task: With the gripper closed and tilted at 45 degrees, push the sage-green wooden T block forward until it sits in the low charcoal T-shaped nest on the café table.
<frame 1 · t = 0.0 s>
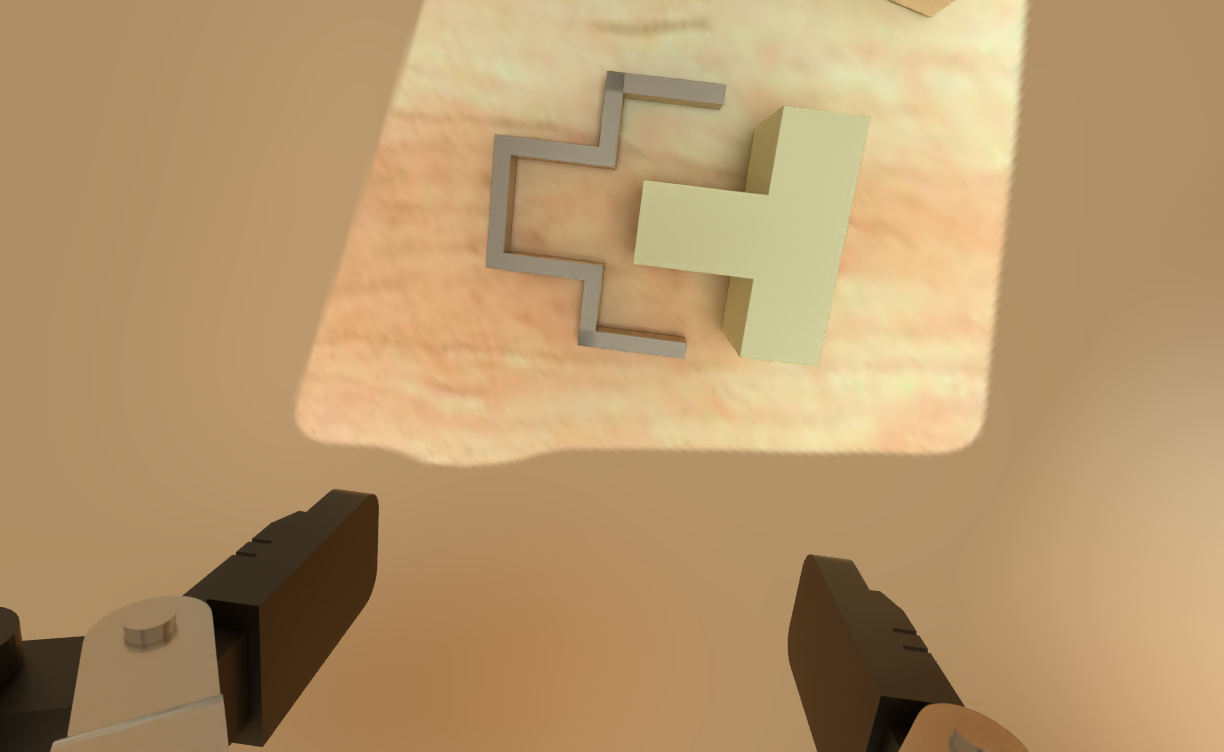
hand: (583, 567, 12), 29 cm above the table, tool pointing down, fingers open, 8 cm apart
t block: (721, 231, 38), on the table
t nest: (607, 216, 39), on the table
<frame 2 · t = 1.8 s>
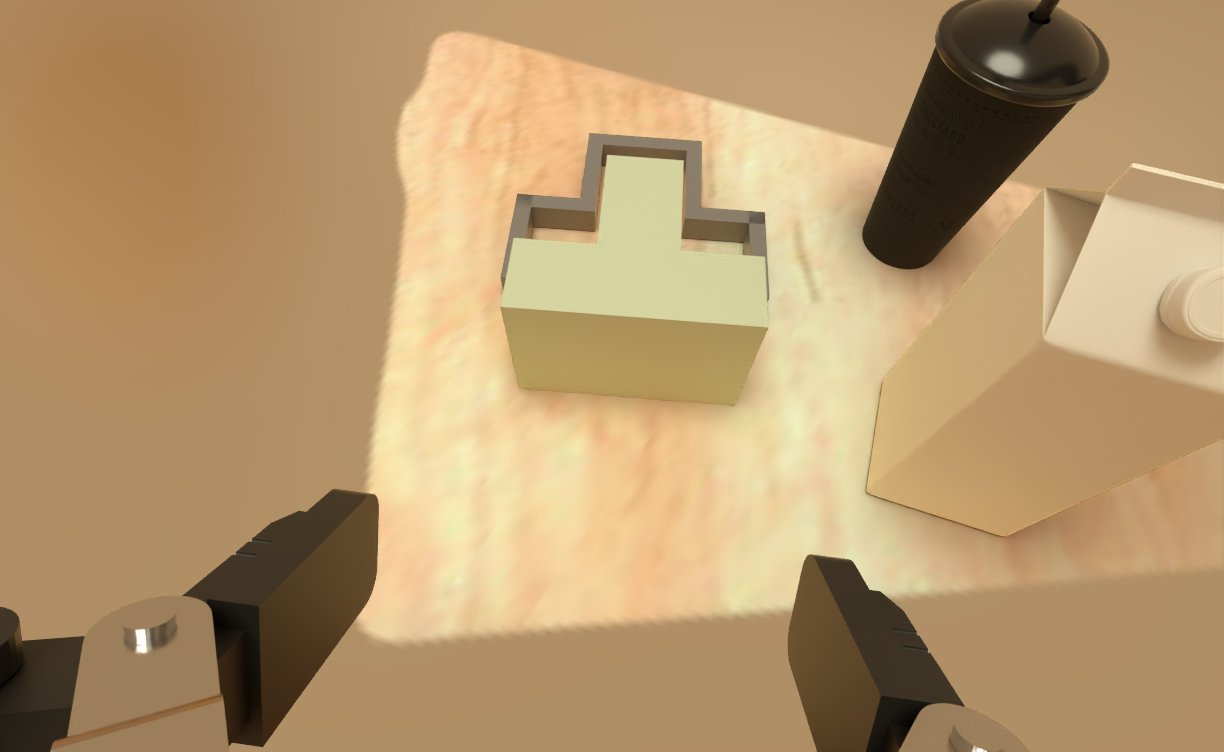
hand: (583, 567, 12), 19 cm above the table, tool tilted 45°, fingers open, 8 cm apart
milk carton: (937, 456, 34), on the table
t block: (631, 322, 38), on the table
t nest: (638, 232, 41), on the table
drinking cup: (897, 242, 41), on the table
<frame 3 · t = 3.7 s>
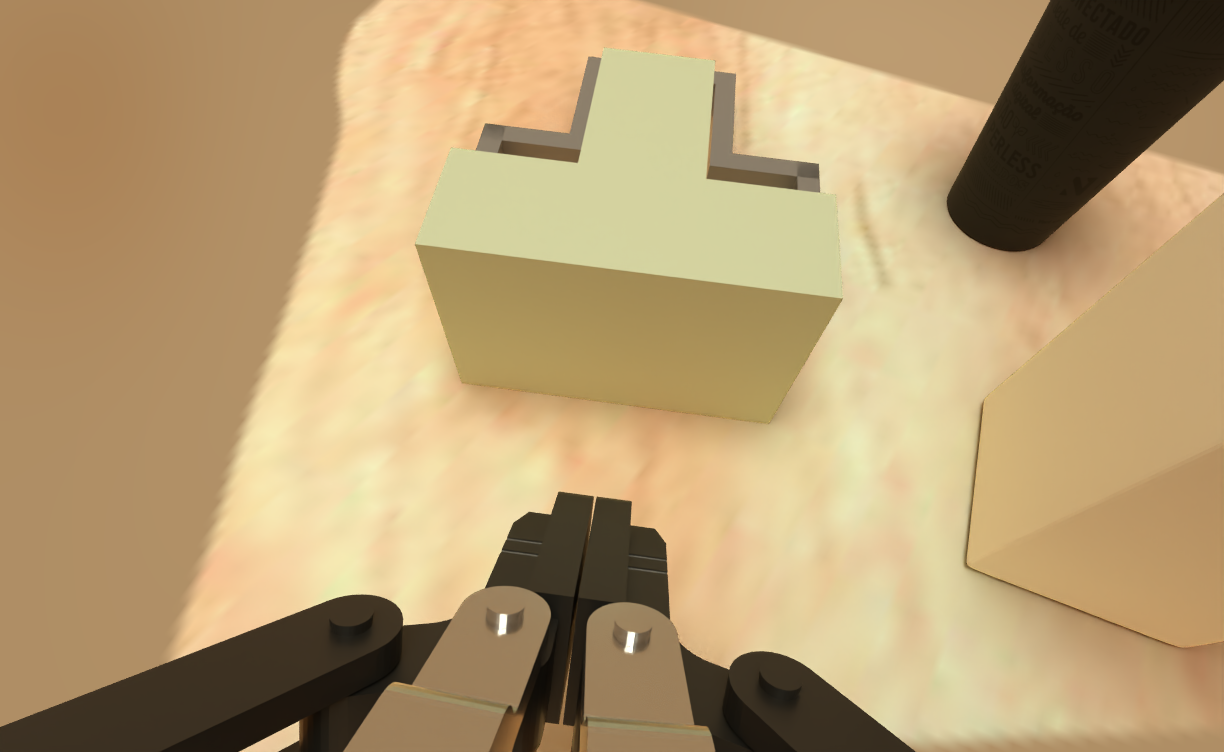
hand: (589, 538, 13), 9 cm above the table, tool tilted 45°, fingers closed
milk carton: (1066, 514, 23), on the table
t block: (628, 300, 27), on the table
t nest: (645, 185, 30), on the table
drinking cup: (994, 216, 31), on the table
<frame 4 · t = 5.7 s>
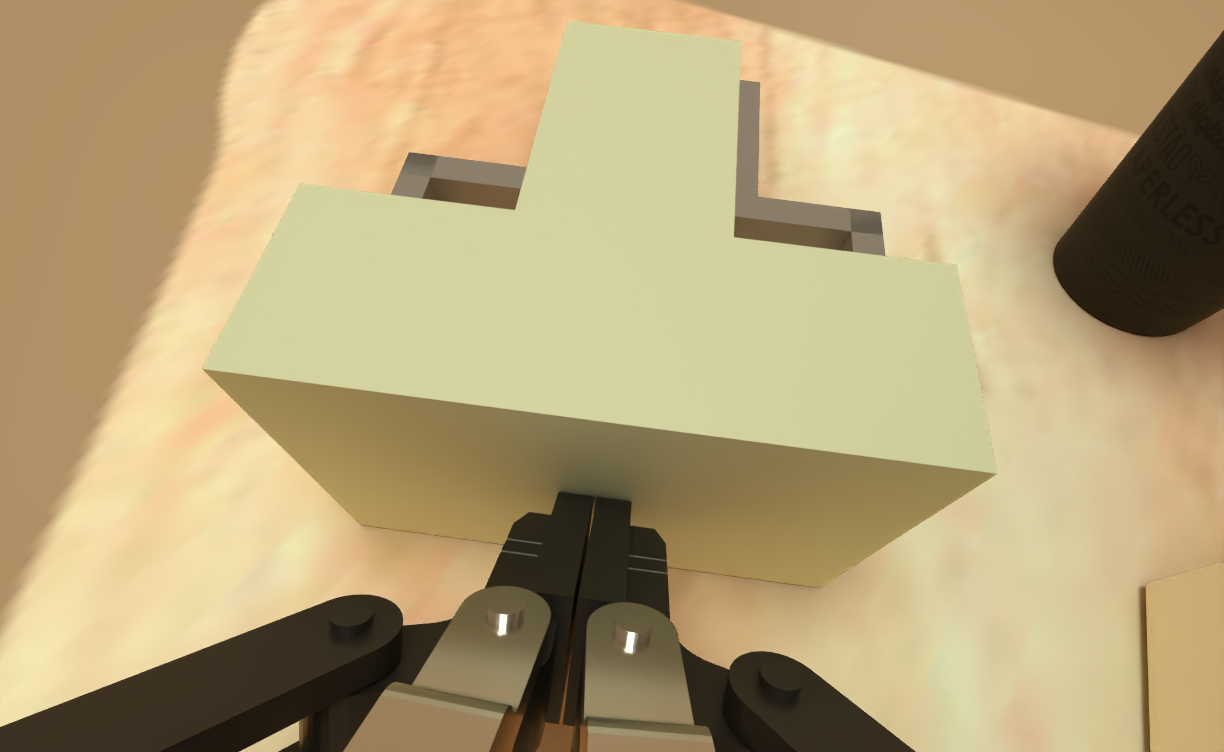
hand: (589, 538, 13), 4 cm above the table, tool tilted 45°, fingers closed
t block: (611, 388, 19), on the table, touching gripper
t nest: (635, 238, 22), on the table
drinking cup: (1119, 283, 22), on the table
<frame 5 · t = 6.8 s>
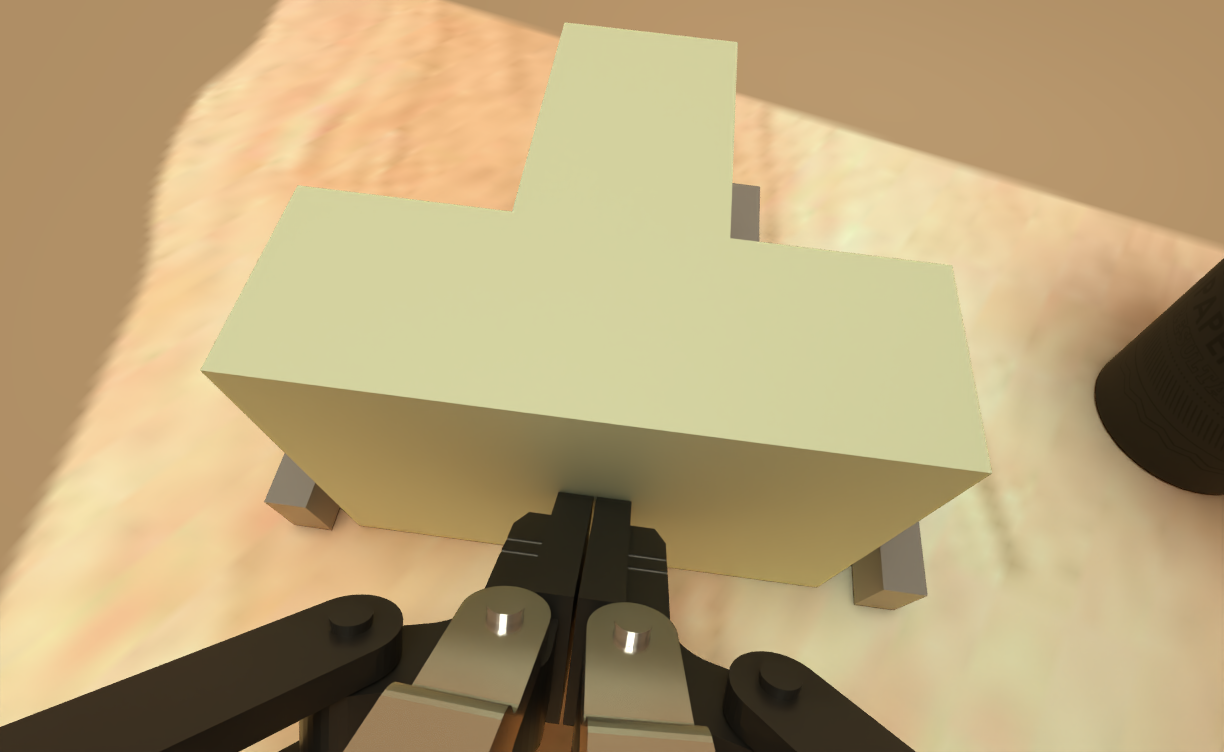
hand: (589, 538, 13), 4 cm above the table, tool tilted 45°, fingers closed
t block: (609, 389, 19), on the table, touching gripper
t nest: (617, 374, 19), on the table
drinking cup: (1170, 423, 19), on the table
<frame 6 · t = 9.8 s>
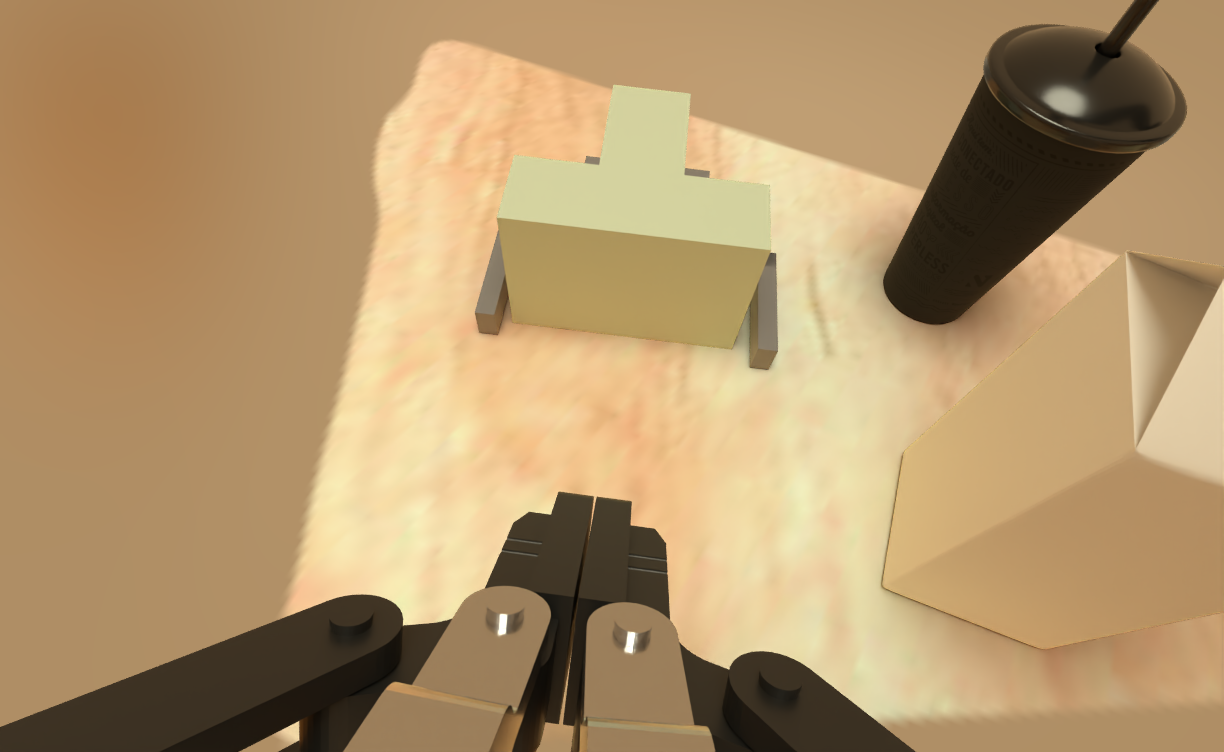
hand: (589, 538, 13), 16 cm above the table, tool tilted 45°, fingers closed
milk carton: (964, 545, 30), on the table
t block: (630, 265, 37), on the table
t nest: (634, 267, 37), on the table
drinking cup: (922, 293, 37), on the table
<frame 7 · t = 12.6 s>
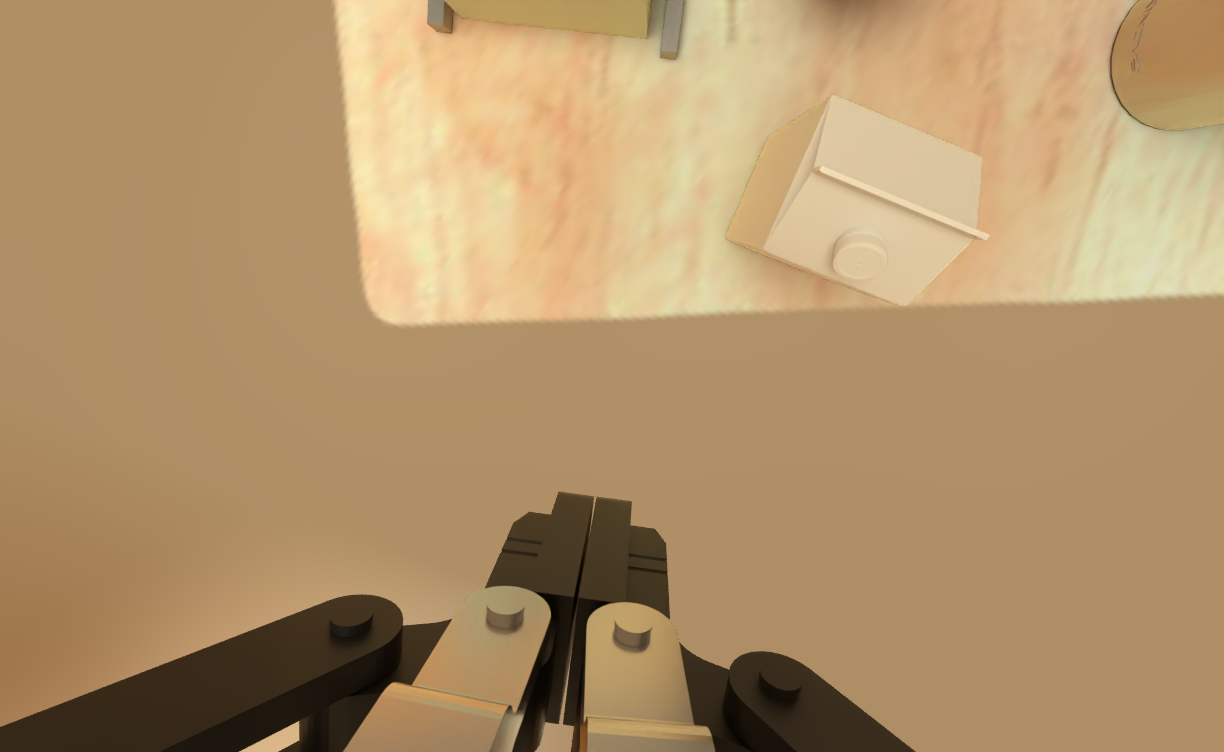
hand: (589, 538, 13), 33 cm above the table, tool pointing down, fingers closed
milk carton: (793, 208, 43), on the table
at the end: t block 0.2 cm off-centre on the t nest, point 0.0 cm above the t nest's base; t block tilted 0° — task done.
